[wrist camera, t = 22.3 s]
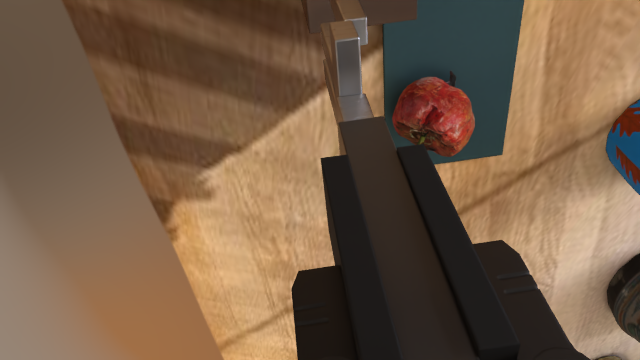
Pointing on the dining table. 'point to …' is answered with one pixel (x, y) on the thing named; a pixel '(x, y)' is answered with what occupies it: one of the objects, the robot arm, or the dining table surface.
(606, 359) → the squeeze bottle
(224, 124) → the dining table surface
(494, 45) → the mat
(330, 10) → the fork stand
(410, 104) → the red round fruit
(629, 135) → the thermos
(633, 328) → the beer stein
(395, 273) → the fork
